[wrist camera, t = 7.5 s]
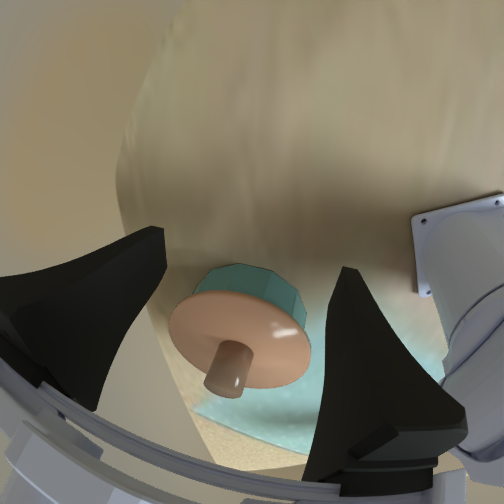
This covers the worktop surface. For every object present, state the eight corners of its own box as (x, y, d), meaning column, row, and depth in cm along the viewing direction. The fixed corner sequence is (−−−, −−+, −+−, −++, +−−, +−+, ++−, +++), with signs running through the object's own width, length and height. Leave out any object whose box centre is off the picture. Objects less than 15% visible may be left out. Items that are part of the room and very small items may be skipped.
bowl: (281, 252, 23) (272, 284, 19) (317, 338, 27) (313, 370, 24) (178, 276, 27) (160, 303, 24) (227, 347, 32) (216, 374, 28)
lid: (333, 317, 20) (330, 370, 16) (289, 393, 27) (281, 431, 23) (168, 270, 21) (138, 312, 17) (175, 358, 29) (158, 393, 25)
